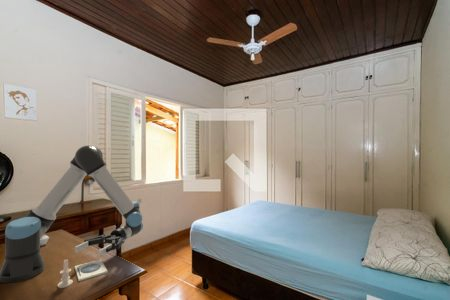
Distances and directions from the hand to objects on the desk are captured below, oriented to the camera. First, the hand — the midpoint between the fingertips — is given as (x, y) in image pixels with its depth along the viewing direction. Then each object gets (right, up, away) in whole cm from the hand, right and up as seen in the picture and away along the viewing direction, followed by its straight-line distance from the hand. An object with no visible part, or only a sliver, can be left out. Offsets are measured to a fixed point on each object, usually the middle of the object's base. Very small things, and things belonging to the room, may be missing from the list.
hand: (87, 251), depth 102 cm
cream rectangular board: (+1, -9, +1) cm, 9 cm away
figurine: (-45, -9, +28) cm, 54 cm away
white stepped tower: (-3, -9, -10) cm, 14 cm away
